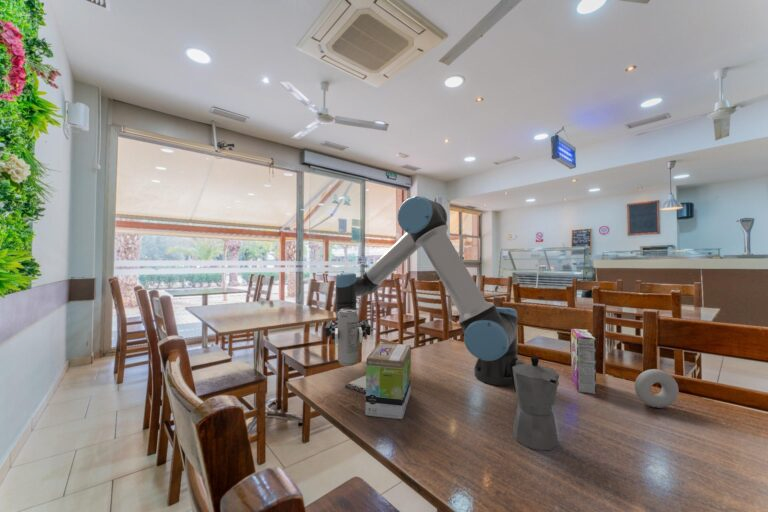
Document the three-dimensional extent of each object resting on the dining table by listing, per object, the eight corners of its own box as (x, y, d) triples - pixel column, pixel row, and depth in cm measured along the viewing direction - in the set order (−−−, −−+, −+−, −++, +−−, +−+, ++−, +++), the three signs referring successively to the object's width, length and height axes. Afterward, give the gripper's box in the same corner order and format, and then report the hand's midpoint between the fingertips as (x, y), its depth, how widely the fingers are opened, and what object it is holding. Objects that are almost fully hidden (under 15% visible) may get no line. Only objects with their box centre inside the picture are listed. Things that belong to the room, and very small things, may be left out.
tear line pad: (394, 382, 102) (394, 379, 102) (370, 395, 93) (370, 392, 93) (369, 374, 108) (369, 372, 108) (345, 386, 99) (345, 384, 99)
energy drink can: (349, 358, 97) (349, 308, 97) (363, 362, 93) (363, 310, 93) (333, 363, 93) (333, 311, 93) (347, 368, 89) (346, 313, 88)
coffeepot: (576, 453, 66) (577, 365, 65) (536, 460, 64) (536, 369, 63) (527, 416, 81) (527, 344, 80) (493, 420, 79) (493, 347, 78)
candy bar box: (570, 378, 105) (570, 328, 105) (588, 380, 103) (588, 329, 103) (576, 392, 94) (576, 336, 94) (596, 395, 93) (596, 338, 92)
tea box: (404, 420, 79) (404, 360, 79) (364, 416, 81) (364, 357, 81) (411, 394, 94) (411, 343, 94) (377, 391, 96) (377, 341, 96)
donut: (671, 405, 86) (672, 367, 86) (682, 411, 83) (682, 372, 83) (631, 403, 87) (631, 366, 87) (640, 409, 84) (640, 371, 84)
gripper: (374, 330, 112) (383, 350, 89) (318, 332, 109) (313, 353, 86) (374, 308, 112) (383, 323, 89) (318, 310, 109) (313, 325, 86)
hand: (348, 338), depth 88 cm, fingers closed on energy drink can, 6 cm apart
